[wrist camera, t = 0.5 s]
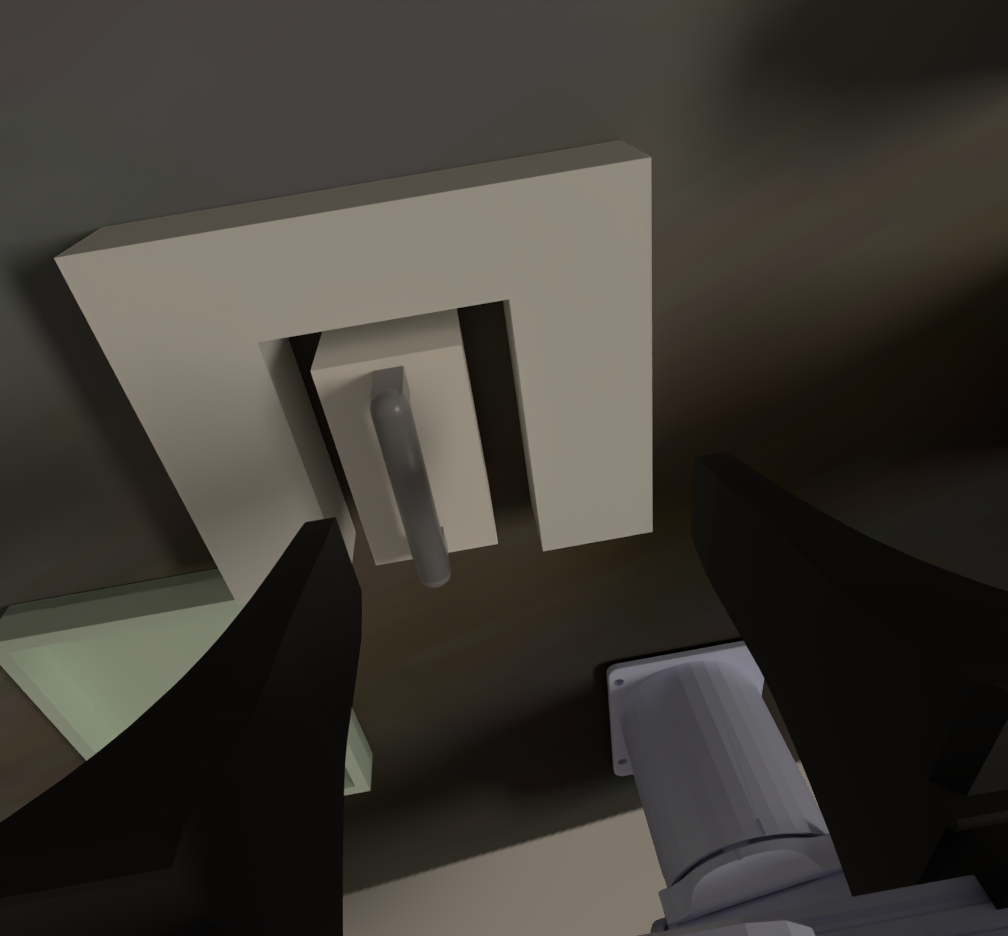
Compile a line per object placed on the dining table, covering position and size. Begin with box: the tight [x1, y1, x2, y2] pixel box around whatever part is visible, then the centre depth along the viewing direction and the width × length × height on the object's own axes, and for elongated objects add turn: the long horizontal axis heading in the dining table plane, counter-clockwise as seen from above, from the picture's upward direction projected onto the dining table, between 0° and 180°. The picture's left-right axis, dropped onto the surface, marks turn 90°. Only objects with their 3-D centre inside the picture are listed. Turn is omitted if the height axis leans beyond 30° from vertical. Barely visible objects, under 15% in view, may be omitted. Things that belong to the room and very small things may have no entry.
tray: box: [0, 569, 373, 796], centre depth 29 cm, size 14×11×2 cm
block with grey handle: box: [310, 308, 498, 588], centre depth 20 cm, size 7×4×6 cm, turn 8°
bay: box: [54, 140, 653, 606], centre depth 21 cm, size 12×15×3 cm
